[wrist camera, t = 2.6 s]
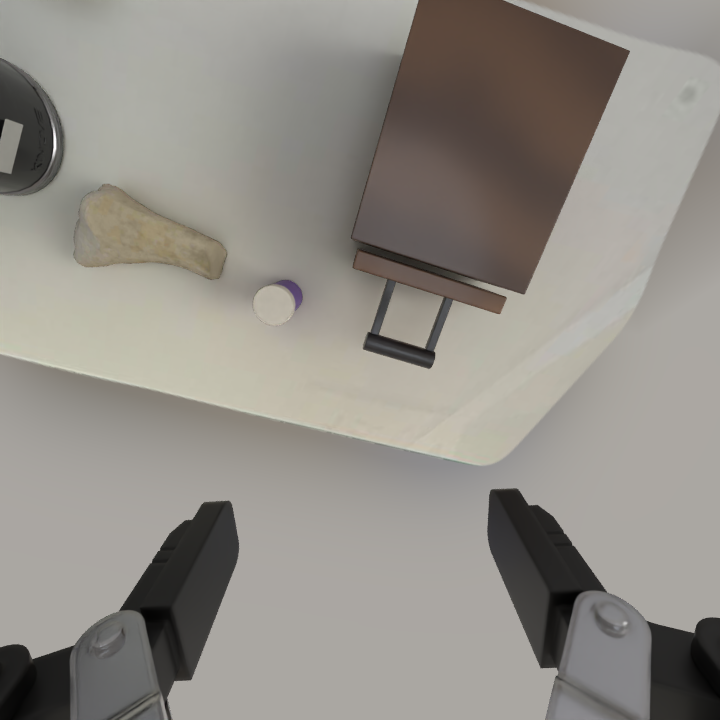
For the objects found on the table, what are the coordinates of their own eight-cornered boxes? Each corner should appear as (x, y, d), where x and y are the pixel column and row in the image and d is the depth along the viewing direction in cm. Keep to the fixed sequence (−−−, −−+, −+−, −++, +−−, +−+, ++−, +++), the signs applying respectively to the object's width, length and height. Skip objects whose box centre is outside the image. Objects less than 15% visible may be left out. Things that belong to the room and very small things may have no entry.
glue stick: (265, 307, 33) (248, 319, 28) (273, 274, 32) (257, 280, 27) (298, 317, 33) (287, 330, 28) (307, 284, 33) (297, 292, 27)
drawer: (445, 360, 34) (468, 390, 27) (334, 326, 33) (328, 349, 26) (531, 142, 29) (586, 109, 22) (402, 95, 28) (417, 45, 21)
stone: (93, 264, 32) (48, 267, 27) (85, 185, 30) (36, 173, 26) (226, 278, 32) (204, 282, 28) (226, 200, 31) (202, 191, 26)
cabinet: (480, 281, 33) (524, 294, 24) (352, 240, 32) (350, 238, 23) (548, 108, 29) (631, 50, 20) (405, 55, 28) (427, -31, 19)
